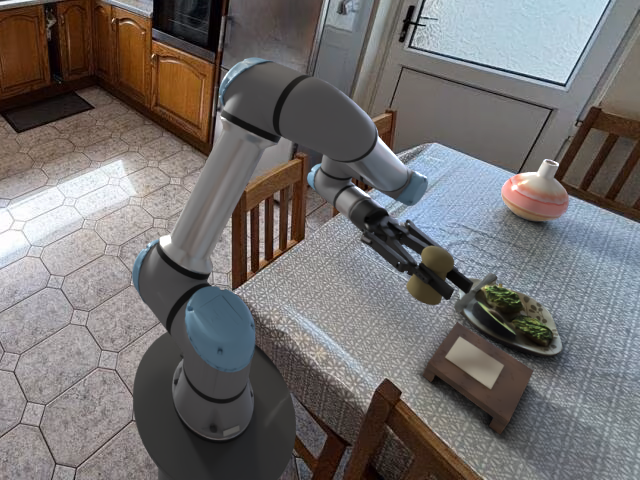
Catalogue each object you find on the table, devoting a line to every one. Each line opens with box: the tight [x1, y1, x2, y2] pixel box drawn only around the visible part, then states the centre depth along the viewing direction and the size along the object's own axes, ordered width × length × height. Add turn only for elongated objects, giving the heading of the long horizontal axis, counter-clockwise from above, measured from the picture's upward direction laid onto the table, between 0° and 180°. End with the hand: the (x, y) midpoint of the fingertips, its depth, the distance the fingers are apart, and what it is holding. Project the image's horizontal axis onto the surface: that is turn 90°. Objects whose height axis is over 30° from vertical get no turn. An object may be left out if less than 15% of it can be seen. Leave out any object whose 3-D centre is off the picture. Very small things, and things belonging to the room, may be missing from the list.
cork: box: [405, 246, 455, 306], centre depth 82 cm, size 6×6×11 cm
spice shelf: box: [421, 321, 535, 435], centre depth 77 cm, size 12×14×4 cm
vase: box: [500, 159, 570, 222], centre depth 114 cm, size 14×14×18 cm
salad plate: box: [453, 272, 564, 359], centre depth 89 cm, size 19×18×5 cm
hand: (460, 291), depth 77 cm, fingers closed on cork, 4 cm apart
